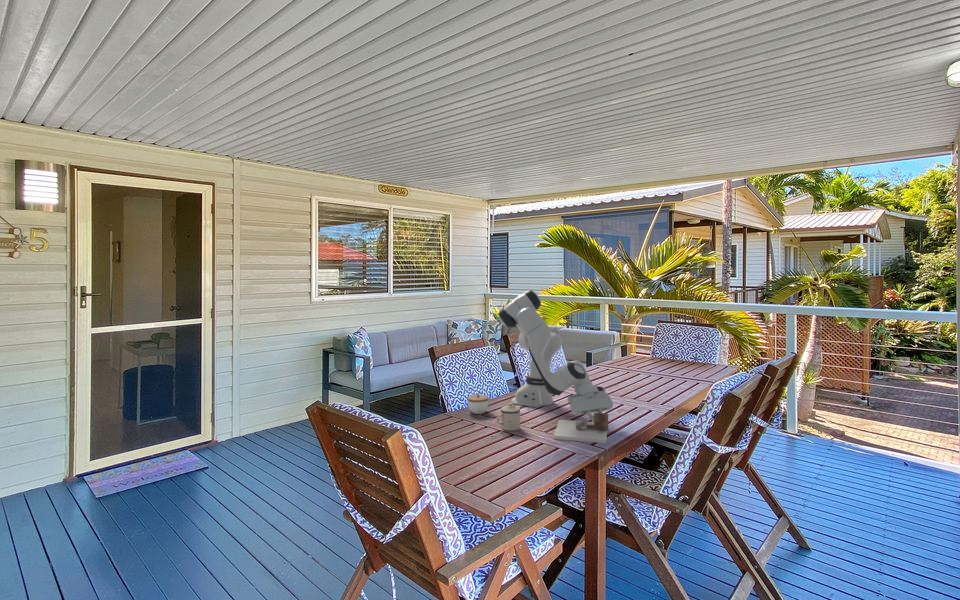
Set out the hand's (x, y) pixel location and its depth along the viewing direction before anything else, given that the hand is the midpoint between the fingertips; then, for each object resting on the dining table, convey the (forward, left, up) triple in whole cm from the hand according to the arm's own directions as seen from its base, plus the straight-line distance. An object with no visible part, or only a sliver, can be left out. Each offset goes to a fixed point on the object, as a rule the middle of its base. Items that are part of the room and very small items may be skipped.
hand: (598, 420), depth 225 cm
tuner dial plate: (-7, -2, -5) cm, 9 cm away
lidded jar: (-60, +17, -6) cm, 63 cm away
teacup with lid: (-40, -4, -6) cm, 41 cm away
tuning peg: (-3, -2, -3) cm, 5 cm away
